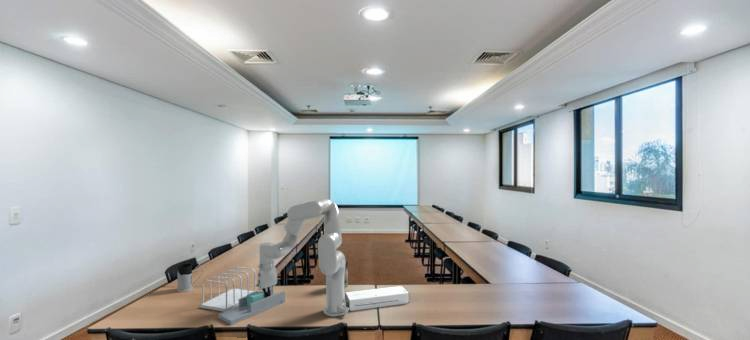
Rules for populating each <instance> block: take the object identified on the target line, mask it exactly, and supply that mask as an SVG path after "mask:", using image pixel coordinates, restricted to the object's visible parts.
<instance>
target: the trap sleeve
mask: <svg viewBox="0 0 750 340" xmlns="http://www.w3.org/2000/svg"><path fill="white" fill-rule="evenodd" d="M258 292H260V293H263V299H261V300H258V301H256V302H253V303H251V304H250V307H248V306H247V296H246V297H243V298H240V299H239V305H238V306H236V307H235V308H233V309H230V310H228V311H225V312H223V311H222V312H220V313H218V314H217V319H219V320H221V321H223V322H224V323H227V324H229V325H231V326H232V325H234V324H238V323H239V322H241V321H244V320H246V319H249V318H251V317H253V316H256V315H258V314H260V313H263V312H265V311H267V310H269V309H272V308H273V307H276V306H279V305H281V304H283V303H285V302H286V298H285V295H286V293H285V291H284V290H282V291H279V292H277V293H274V286H273V287H272V289H271V291H270V296H269V297H266V298H264V291H263V290H262V291H259V290H258Z"/></svg>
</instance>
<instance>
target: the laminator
mask: <svg viewBox="0 0 750 340" xmlns="http://www.w3.org/2000/svg"><path fill="white" fill-rule="evenodd" d="M344 301H345V303H346V306H347V307H348V308H349V310H348V311H350V312H354V311H359V310H360V311H361V310H367V309H375V308H383V307H389V306H397V305H405V304H409V303H410V291H408V290H407V289H406V288H405V287H404V286H403V285H398V286H397V285H396V286H390V287H381V288H370V289H364V290H354V291H348V292H347V291H346V292H345V291H344Z"/></svg>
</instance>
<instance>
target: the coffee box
mask: <svg viewBox="0 0 750 340" xmlns="http://www.w3.org/2000/svg"><path fill="white" fill-rule="evenodd" d="M348 263H349V262H348V261H347V260H346V262H345V273H344V289H346V288H348V287H349V277H348V276H349V273H348V272H349V271H348V270H349V269H348V268H349V267H348V265H349V264H348Z"/></svg>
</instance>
